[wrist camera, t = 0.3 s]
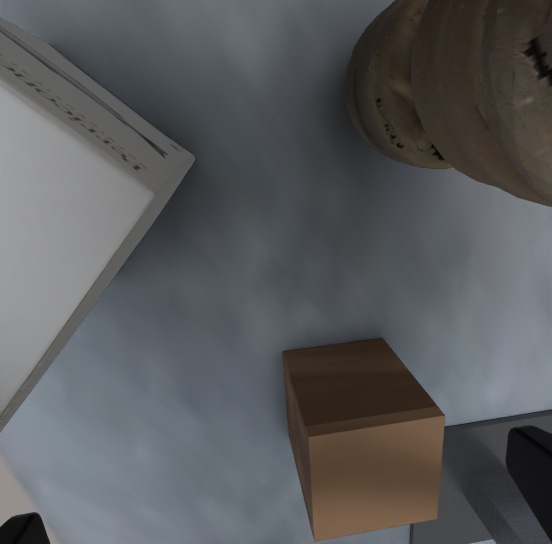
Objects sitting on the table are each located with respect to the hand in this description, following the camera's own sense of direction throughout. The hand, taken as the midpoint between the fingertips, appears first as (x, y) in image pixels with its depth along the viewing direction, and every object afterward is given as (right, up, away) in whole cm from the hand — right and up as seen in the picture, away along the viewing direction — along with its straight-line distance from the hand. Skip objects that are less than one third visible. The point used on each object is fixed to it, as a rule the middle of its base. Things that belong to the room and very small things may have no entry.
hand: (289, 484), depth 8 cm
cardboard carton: (+3, -3, +16) cm, 16 cm away
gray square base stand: (+14, -10, +20) cm, 26 cm away
